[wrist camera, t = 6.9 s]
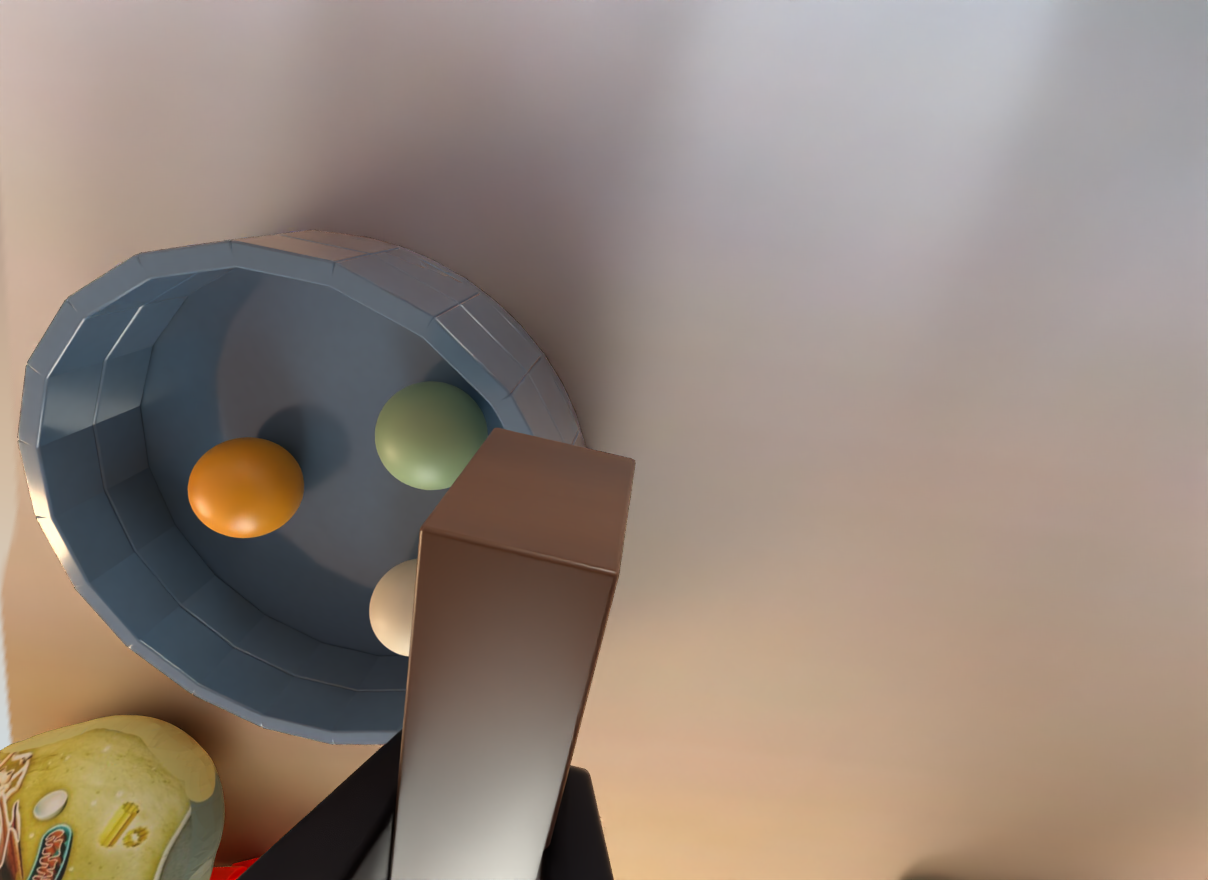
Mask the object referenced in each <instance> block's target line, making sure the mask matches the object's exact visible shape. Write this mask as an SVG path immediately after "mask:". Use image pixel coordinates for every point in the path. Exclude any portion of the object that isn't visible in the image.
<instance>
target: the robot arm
mask: <svg viewBox="0 0 1208 880" xmlns="http://www.w3.org/2000/svg"><path fill="white" fill-rule="evenodd" d="M401 740H402V729H401V730H400V731H399V732H398V733H397V734H396V735H395V736H393V737H392V738H391V739H390V740H389V741H388V742H387V743H386V744H385V745H384V746H382V747H381V748H380V749H379V750H378V751H377V752H376V753H375V754H374V755H372V756H371V757H370V758H369V759H368V760H367V761H366V762H365V763H364V764H363V765H361V766H360V767H359V768H358V769H357V770H356V771H355V772H354V773H353V774H352V775H350V776H349V777H348V778H347V779H346V780H345V781H344V782H343V783H342V784H341V785H339V786H338V787H337V788H336V789H335V790H334V791H333V792H332V793H331V794H330V795H328V796H327V797H326V798H325V799H324V800H323V801H322V802H321V803H320V804H318V805H317V806H316V807H315V808H314V809H313V810H312V811H311V812H310V813H309V814H307V815H306V816H305V817H304V818H303V819H302V820H301V821H300V822H299V823H298V824H296V825H295V826H294V827H293V828H292V829H291V830H290V831H289V832H288V833H287V834H285V835H284V836H283V837H282V838H281V839H280V840H279V841H278V842H277V843H275V844H274V845H273V846H272V847H271V848H270V849H269V850H268V851H267V852H266V853H264V854H263V855H262V856H261V857H260V858H259V859H258V860H257V861H256V862H255V863H253V864H252V865H251V866H250V867H249V868H248V869H247V870H246V871H245V872H244V873H242V874H241V875H240V876H239V877H238V878H237V879H236V880H389V878H390V867H391V855H392V844H393V832H394V821H395V809H396V797H397V786H398V774H399V763H400V751H401ZM536 880H614V878H613V874H612V869H611V865H610V861H609V856H608V852H607V847H606V843H605V839H604V834H603V830H602V825H601V821H600V816H599V812H598V808H597V803H596V799H595V794H594V790H593V786H592V781H591V777H590V774H589V772H588V771H587V770H586V769H584V768H579V767H575V766H571V765H570V768H569V772H568V776H567V779H566V783H565V787H564V791H563V795H562V799H561V803H560V807H559V811H558V814H557V818H556V822H555V826H554V830H553V834H552V838H551V842H550V845H549V846H548V847H547V848H545V849H544V851H543V853H542V857H541V861H540V865H539V869H538V873H537V877H536Z"/></svg>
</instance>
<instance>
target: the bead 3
mask: <svg viewBox="0 0 1208 880" xmlns="http://www.w3.org/2000/svg"><path fill="white" fill-rule="evenodd" d="M487 437H488V431H487V424H486V420H485V418H484V415H483V413H482V411H481V409H480V408H479V406H478V405H477V403H476V402H475V401H474V400H473V399H472V398H471V397H470V396H469V395H468V394H467V393H465V392H464V391H463V390H461V389H459V388H457V387H455V386H453V385H450V384H447V383H443V382H434V381H427V382H420V383H416V384H412V385H410V386H407V387H405V388H403V389H402V390H400V391H398V392H397V393H396V394H395V395H393V396H392V397H391V398H390V399H389V400H388V401H387V403H386V404H385V405H384V407H383V409H382V410H381V412H380V414H379V416H378V419H377V423H376V427H375V444H376V449H377V452H378V455H379V457H380V459H381V461H382V463H383V465H384V466H385V467H386V469H387V470H388V471H389V472H390V473H391V474H392V475H393V476H394V477H395V478H396V479H398V480H399V481H401V482H403V483H405V484H406V485H409V486H411V487H414V488H418V489H423V490H440V489H445V488H448V487H451V486H452V484H453V483H454V482H455V480H456V479H457V478H458V476H459V475H460V474H461V472H462V471H463V469H464V468H465V467H466V465H467V464H468V463H469V461H470V460H471V459H472V457H473V456H474V455H475V453H476V452H477V451H478V449H479V448H480V447H481V445H482V444H483V442H484V441H485V440H486V438H487Z"/></svg>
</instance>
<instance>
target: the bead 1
mask: <svg viewBox="0 0 1208 880" xmlns="http://www.w3.org/2000/svg"><path fill="white" fill-rule="evenodd" d="M303 493H304V478H303V473H302V471H301V468H300V466H299V464H298V463H297V461H296V460H295V458H294V457H293V456H292V455H291V454H290V453H289V452H288V451H287V450H286V449H284V448H283V447H281V446H280V445H278V444H276V443H274V442H271V441H269V440H265V439H261V438H253V437H244V438H235V439H231V440H228V441H225V442H222V443H220V444H218V445H216V446H214V447H213V448H211V449H210V450H208V451H207V452H206V453H205V454H204V455H203V456H202V457H201V458H200V459H199V460H198V462H197V463H196V464H195V466H194V468H193V470H192V472H191V474H190V477H189V482H188V497H189V502H190V505H191V507H192V509H193V511H194V513H195V514H196V516H197V517H198V518H199V519H200V521H201V522H203V523H204V524H205V525H206V526H207V527H209V528H210V529H212V530H214V531H215V532H217V533H220V534H223V535H226V536H230V537H236V538H251V537H257V536H262V535H265V534H268V533H270V532H272V531H274V530H276V529H278V528H280V527H281V526H282V525H284V524H285V523H286V522H287V521H288V520H289V519H290V518H291V517H292V516H293V515H294V514H295V512H296V511H297V509H298V507H299V506H300V503H301V501H302V498H303Z"/></svg>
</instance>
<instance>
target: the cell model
mask: <svg viewBox="0 0 1208 880" xmlns="http://www.w3.org/2000/svg"><path fill="white" fill-rule="evenodd" d="M224 816H225V808H224V796H223V790H222V785H221V781H220V778H219V775H218V772H217V769H216V767H215V765H214V763H213V761H212V759H211V758H210V756H209V755H208V754H207V752H206V751H205V750H204V749H203V748H202V747H201V746H200V745H199V744H198V743H197V742H196V741H195V740H194V739H193V738H192V737H191V736H189V735H188V734H187V733H186V732H184V731H183V730H181V729H179V728H178V727H176V726H174V725H172V724H170V723H168V722H165V721H163V720H159V719H156V718H152V717H146V716H139V715H116V716H108V717H104V718H98V719H93V720H90V721H87V722H82V723H78V724H75V725H70V726H66V727H62V728H58V729H55V730H51V731H48V732H44V733H41V734H38V735H35V736H33V737H31V738H28V739H26V740H23V741H20V742H17V743H14V744H10V745H9V746H7V747H5V748H4V749H2V750H0V880H210V877H211V874H212V870H213V865H214V860H215V856H216V852H217V850H218V847H219V844H220V841H221V836H222V832H223V827H224Z"/></svg>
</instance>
